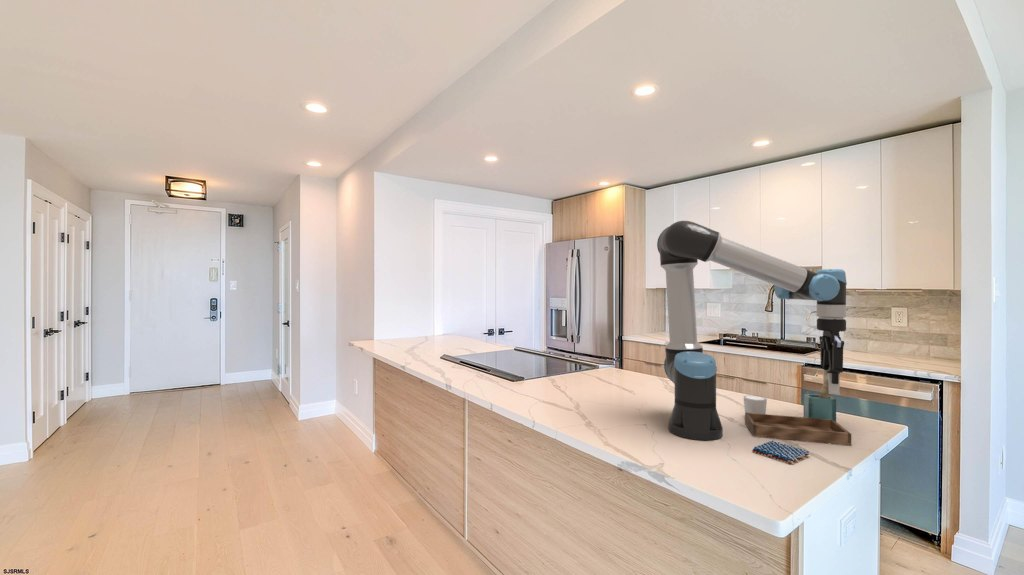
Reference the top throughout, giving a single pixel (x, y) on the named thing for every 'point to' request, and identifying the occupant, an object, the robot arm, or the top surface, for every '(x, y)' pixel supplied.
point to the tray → (797, 428)
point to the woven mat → (781, 452)
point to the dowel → (825, 388)
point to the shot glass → (755, 404)
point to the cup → (819, 407)
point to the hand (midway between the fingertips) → (831, 392)
